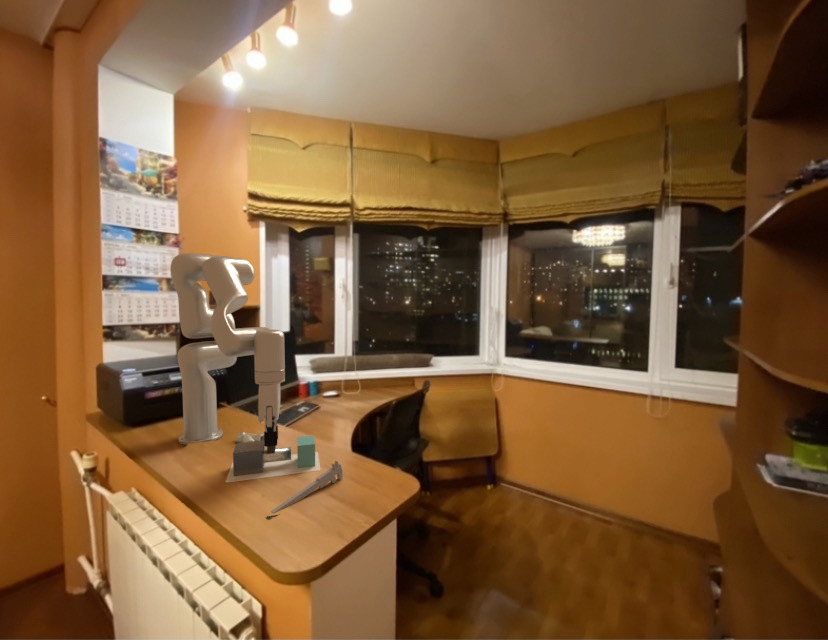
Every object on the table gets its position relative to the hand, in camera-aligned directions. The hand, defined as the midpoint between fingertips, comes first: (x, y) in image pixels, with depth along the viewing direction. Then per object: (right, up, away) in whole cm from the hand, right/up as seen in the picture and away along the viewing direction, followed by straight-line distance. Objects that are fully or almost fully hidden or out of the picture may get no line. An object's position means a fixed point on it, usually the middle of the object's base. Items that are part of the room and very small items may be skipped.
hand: (271, 442), depth 101 cm
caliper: (+14, -9, -13) cm, 21 cm away
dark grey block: (-5, -7, -1) cm, 9 cm away
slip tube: (-2, -5, 0) cm, 6 cm away
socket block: (+9, -7, +3) cm, 11 cm away
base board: (+1, -8, +1) cm, 8 cm away
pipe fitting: (-13, -7, +16) cm, 22 cm away
